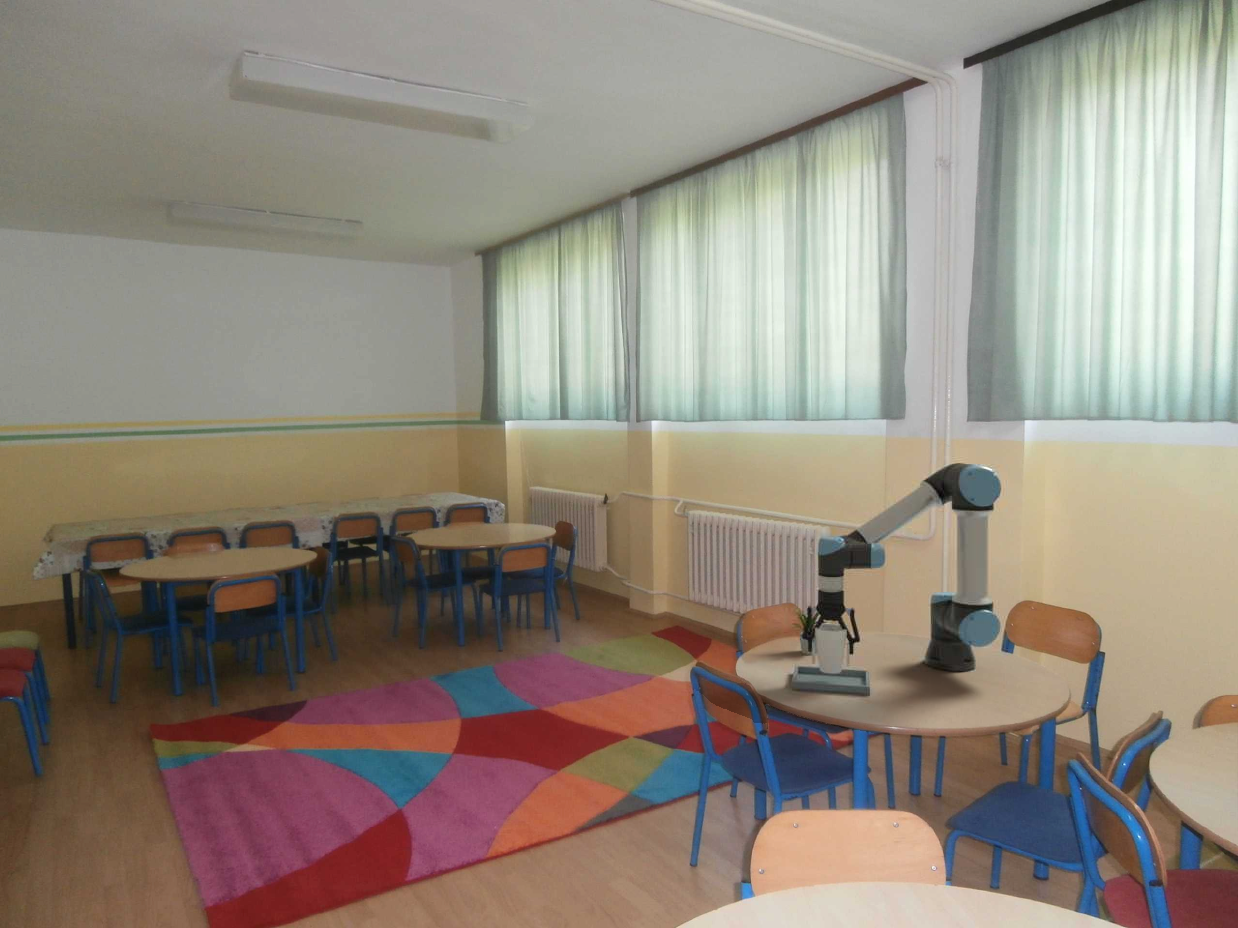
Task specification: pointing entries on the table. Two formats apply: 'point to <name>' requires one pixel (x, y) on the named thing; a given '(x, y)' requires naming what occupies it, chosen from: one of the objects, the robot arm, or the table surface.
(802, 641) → the house plant
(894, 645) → the table surface
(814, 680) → the tray
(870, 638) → the table surface
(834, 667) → the foam cup
